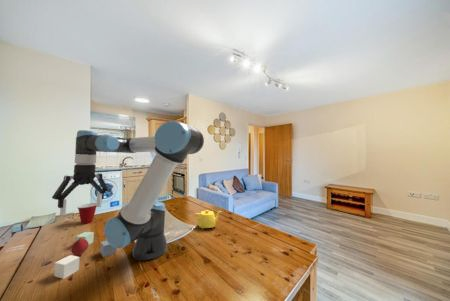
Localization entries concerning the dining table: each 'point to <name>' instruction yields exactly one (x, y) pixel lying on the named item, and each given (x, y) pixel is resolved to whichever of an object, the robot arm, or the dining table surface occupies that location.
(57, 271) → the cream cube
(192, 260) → the dining table surface
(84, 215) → the plastic cup
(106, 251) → the slate cube
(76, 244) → the onion
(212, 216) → the teapot
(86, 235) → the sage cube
